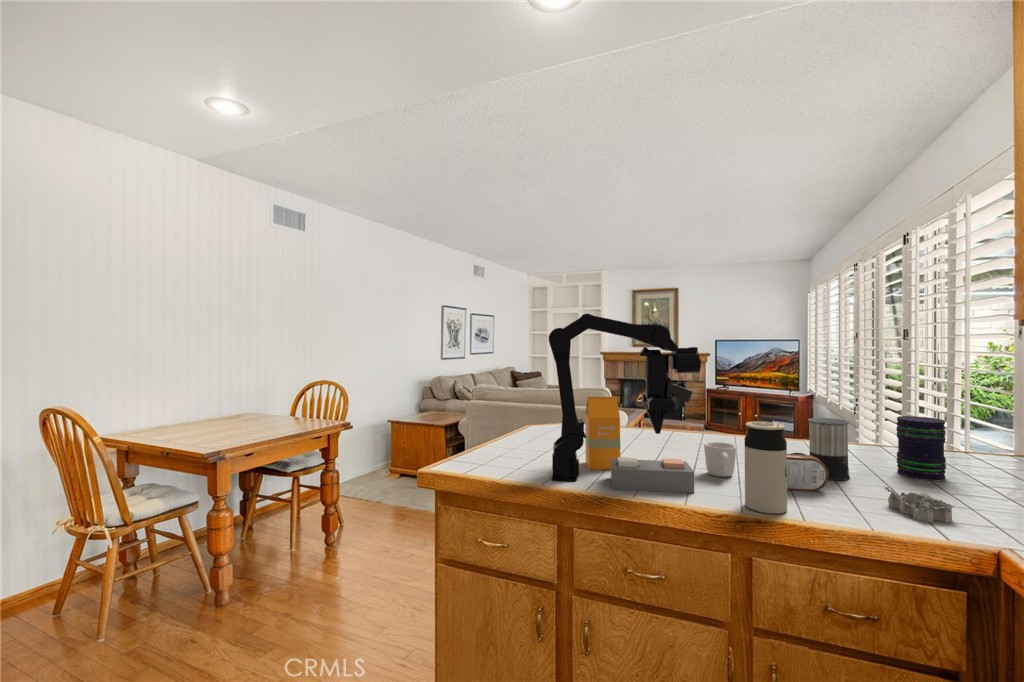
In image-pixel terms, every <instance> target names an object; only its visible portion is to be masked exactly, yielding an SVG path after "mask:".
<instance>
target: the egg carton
mask: <svg viewBox="0 0 1024 682" xmlns="http://www.w3.org/2000/svg"><path fill="white" fill-rule="evenodd" d="M884 490H886V491H887V492H889V493H890V494H889V496H888V497H887V498H888V499H887V502H888V503H887V504H888V507H890V508H892V509H899V511H900V512H901V513H903V514H907V515H912V517H913V518H914V519H915V520H919V521H920V520H921V521H924V522H928V523H933V522H934V521H940V522H941V521H942V522H944V523H951V522H952V520H953V512H952V511H953V508H955V507H957V504H953V505H952V504H951V503H947V502H945V501H943V500H942V499H938V498H935V497H932V496H930V495H929V494H927V493H925V492H909V493H905V492H903V491H902V492H901V493H900V495H898V494H896V492H895V490H893V489H890V488H889V487H886V486H885V488H884Z"/></svg>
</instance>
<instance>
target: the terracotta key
mask: <svg viewBox="0 0 1024 682" xmlns="http://www.w3.org/2000/svg"><path fill="white" fill-rule="evenodd" d="M661 461H662V466H663V468H670V469H684V463H683V460H682V459H681V458H664V457H663V458H661Z"/></svg>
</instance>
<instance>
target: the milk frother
mask: <svg viewBox="0 0 1024 682" xmlns="http://www.w3.org/2000/svg"><path fill="white" fill-rule="evenodd" d="M807 421H808V423H809V425H808V429H809V433H808V435H809V455H811V456H814V457H816V458H818V459H819V460H820V461H821V462H822V463H823V464H824V465H825V466H826V468H827V470H828V474H829V477H828V481H829V480H830V481H848V480H849V479H850V478H851V477H850V468H849V439H848V434H849V432H848V430H849V428H848V427H849V423H850V421H848V420H844V419H840V418H831V417H830V418H829V417H811V418H810V417H809V418H807ZM790 454H797V455H807V454H806V453H802V452H792V453H790Z"/></svg>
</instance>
